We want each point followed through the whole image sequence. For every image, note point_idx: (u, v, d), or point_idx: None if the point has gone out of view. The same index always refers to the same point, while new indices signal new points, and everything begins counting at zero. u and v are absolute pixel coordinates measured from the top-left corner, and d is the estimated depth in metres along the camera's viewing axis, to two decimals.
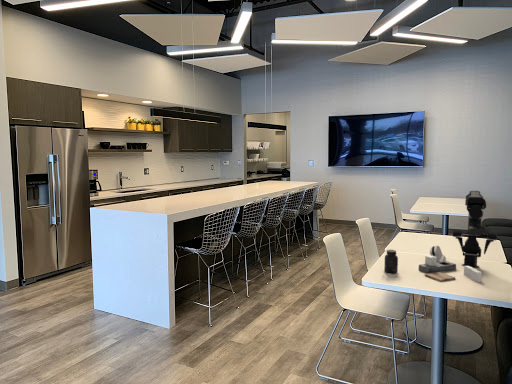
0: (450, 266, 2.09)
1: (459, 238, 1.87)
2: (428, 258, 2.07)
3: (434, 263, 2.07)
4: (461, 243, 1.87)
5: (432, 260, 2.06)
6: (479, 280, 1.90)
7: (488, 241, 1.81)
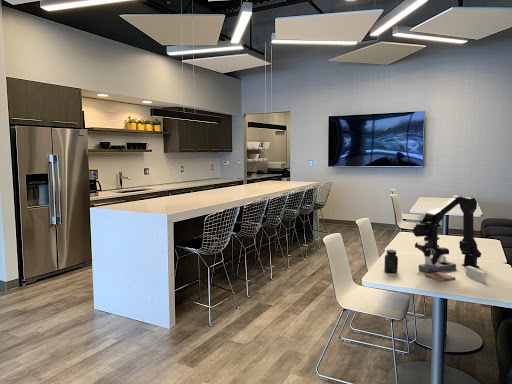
0: (450, 266, 2.09)
1: (422, 250, 2.11)
2: (428, 258, 2.07)
3: None
4: (425, 255, 2.10)
5: (432, 260, 2.06)
6: (483, 280, 1.90)
7: (432, 254, 2.04)
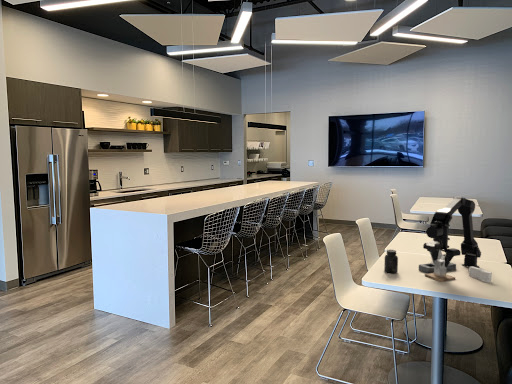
0: (450, 266, 2.09)
1: (429, 251, 1.99)
2: (438, 263, 1.95)
3: (444, 268, 1.95)
4: (432, 255, 1.99)
5: (442, 264, 1.94)
6: (490, 280, 1.89)
7: (445, 256, 1.90)
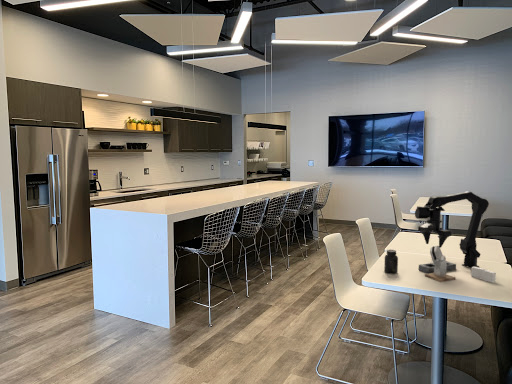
0: (450, 266, 2.09)
1: (421, 232, 2.21)
2: (438, 263, 1.95)
3: (444, 268, 1.95)
4: (424, 236, 2.20)
5: (442, 264, 1.94)
6: (494, 280, 1.90)
7: (439, 237, 2.09)
